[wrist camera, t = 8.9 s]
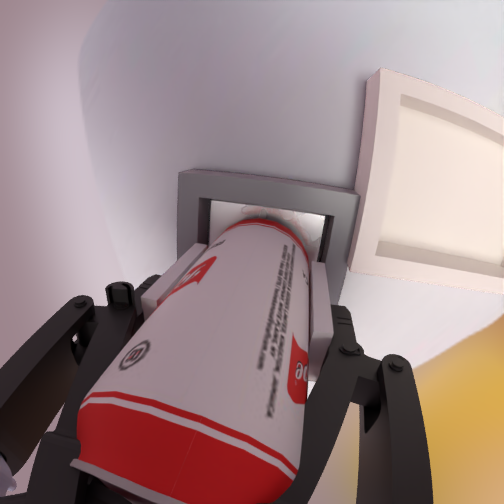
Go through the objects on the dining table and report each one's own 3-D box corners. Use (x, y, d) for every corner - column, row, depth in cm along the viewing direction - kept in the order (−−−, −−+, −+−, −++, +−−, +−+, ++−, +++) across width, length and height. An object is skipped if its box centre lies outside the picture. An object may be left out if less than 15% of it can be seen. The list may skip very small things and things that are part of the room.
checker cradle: (192, 169, 18) (176, 173, 16) (355, 190, 17) (363, 197, 14) (190, 329, 23) (179, 347, 21) (316, 352, 22) (316, 373, 19)
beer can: (206, 282, 20) (74, 484, 5) (230, 199, 17) (8, 400, 3) (288, 313, 20) (245, 550, 5) (324, 234, 17) (353, 531, 3)
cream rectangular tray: (366, 81, 14) (380, 67, 11) (530, 148, 12) (556, 152, 9) (342, 249, 18) (349, 271, 15) (501, 277, 16) (522, 297, 13)
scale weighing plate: (215, 198, 18) (211, 200, 18) (324, 213, 17) (325, 216, 17) (210, 292, 21) (207, 297, 20) (305, 308, 20) (305, 314, 19)
